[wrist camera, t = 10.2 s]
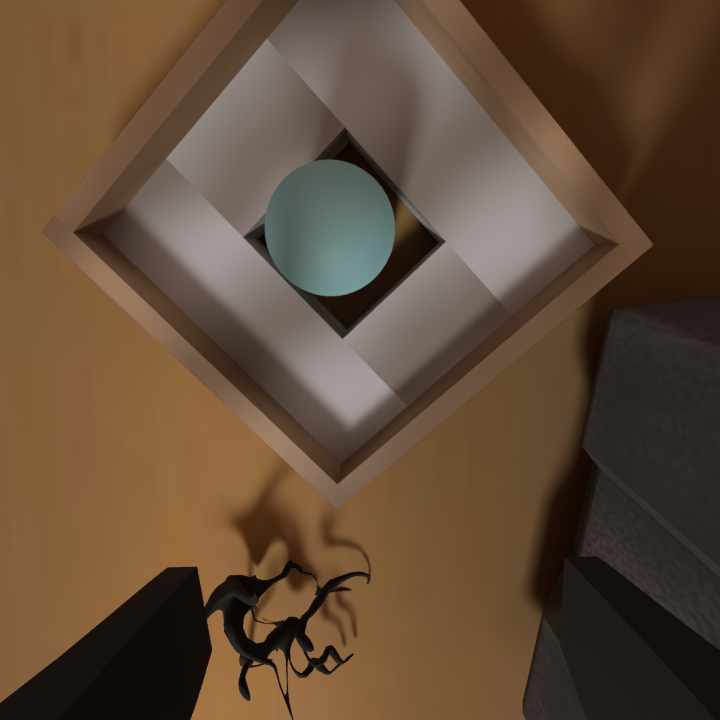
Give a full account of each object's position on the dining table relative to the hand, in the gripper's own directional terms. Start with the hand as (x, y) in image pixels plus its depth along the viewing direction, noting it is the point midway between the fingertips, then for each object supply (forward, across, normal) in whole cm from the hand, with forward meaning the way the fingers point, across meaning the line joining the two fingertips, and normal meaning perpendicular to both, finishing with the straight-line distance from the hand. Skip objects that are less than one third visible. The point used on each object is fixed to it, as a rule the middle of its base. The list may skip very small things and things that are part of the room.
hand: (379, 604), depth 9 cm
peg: (+10, +1, -7) cm, 12 cm away
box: (+10, +1, -7) cm, 12 cm away
